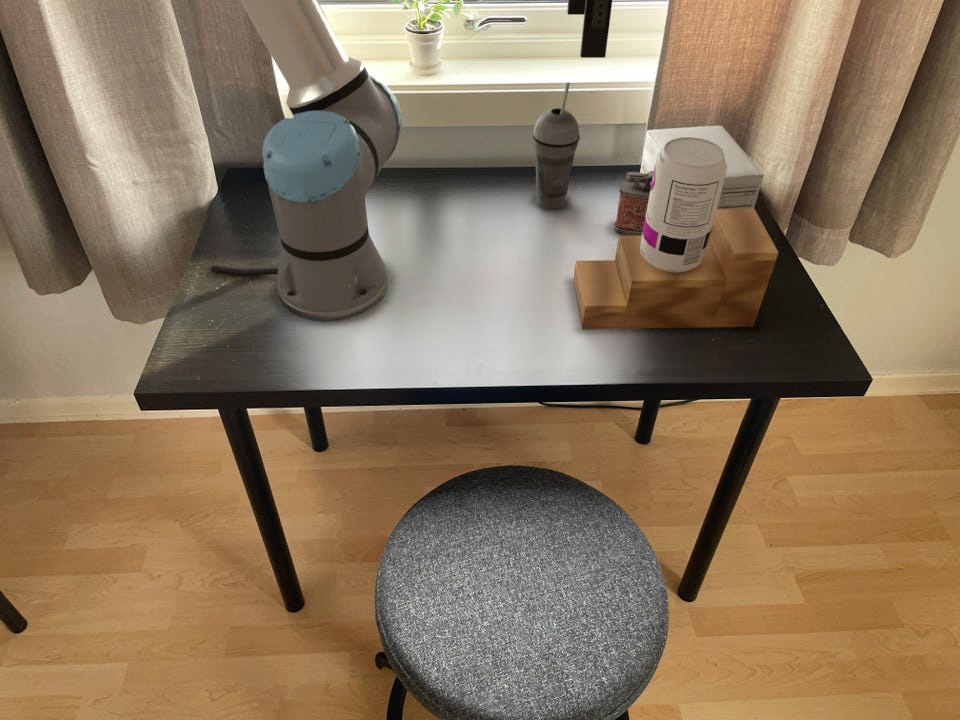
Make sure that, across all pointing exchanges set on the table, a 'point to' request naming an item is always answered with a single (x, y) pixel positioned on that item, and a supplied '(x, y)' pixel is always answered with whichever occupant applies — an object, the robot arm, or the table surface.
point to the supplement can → (682, 203)
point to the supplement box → (740, 168)
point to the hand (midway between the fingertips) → (585, 34)
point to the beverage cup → (554, 154)
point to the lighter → (633, 204)
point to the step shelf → (681, 281)
